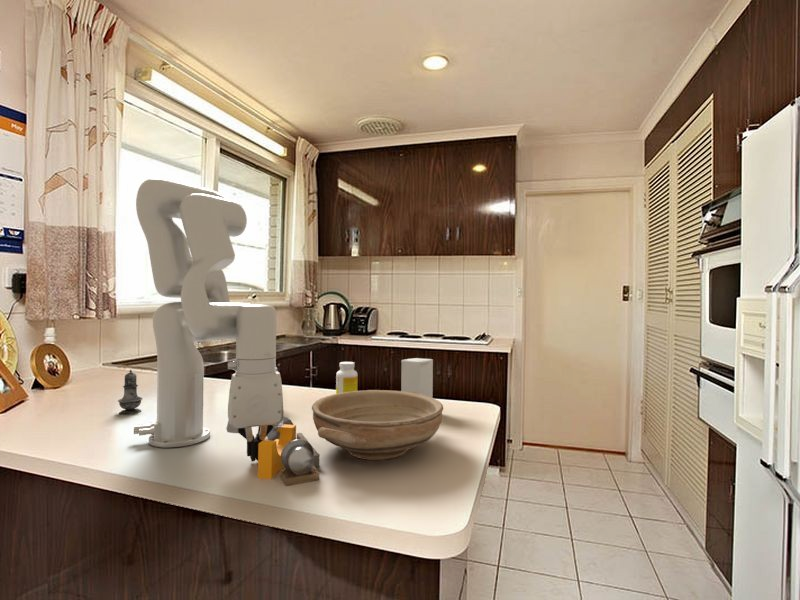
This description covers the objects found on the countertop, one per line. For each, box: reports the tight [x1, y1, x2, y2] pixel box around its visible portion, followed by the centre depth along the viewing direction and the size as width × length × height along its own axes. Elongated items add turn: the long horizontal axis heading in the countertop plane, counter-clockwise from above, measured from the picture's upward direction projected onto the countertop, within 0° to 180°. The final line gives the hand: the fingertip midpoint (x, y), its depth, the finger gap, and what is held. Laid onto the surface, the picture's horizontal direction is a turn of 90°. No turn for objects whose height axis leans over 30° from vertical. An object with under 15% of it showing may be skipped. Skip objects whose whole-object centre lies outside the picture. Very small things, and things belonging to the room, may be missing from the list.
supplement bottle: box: [335, 361, 359, 394], centre depth 134 cm, size 7×7×13 cm
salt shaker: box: [117, 369, 143, 416], centre depth 121 cm, size 6×6×12 cm
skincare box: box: [400, 357, 434, 398], centre depth 124 cm, size 8×7×16 cm
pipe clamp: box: [257, 424, 297, 480], centre depth 84 cm, size 12×4×6 cm, turn 173°
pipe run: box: [264, 415, 320, 486], centre depth 88 cm, size 8×26×6 cm, turn 26°
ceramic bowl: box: [311, 389, 444, 461], centre depth 94 cm, size 37×29×10 cm
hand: (255, 458), depth 85 cm, fingers closed
